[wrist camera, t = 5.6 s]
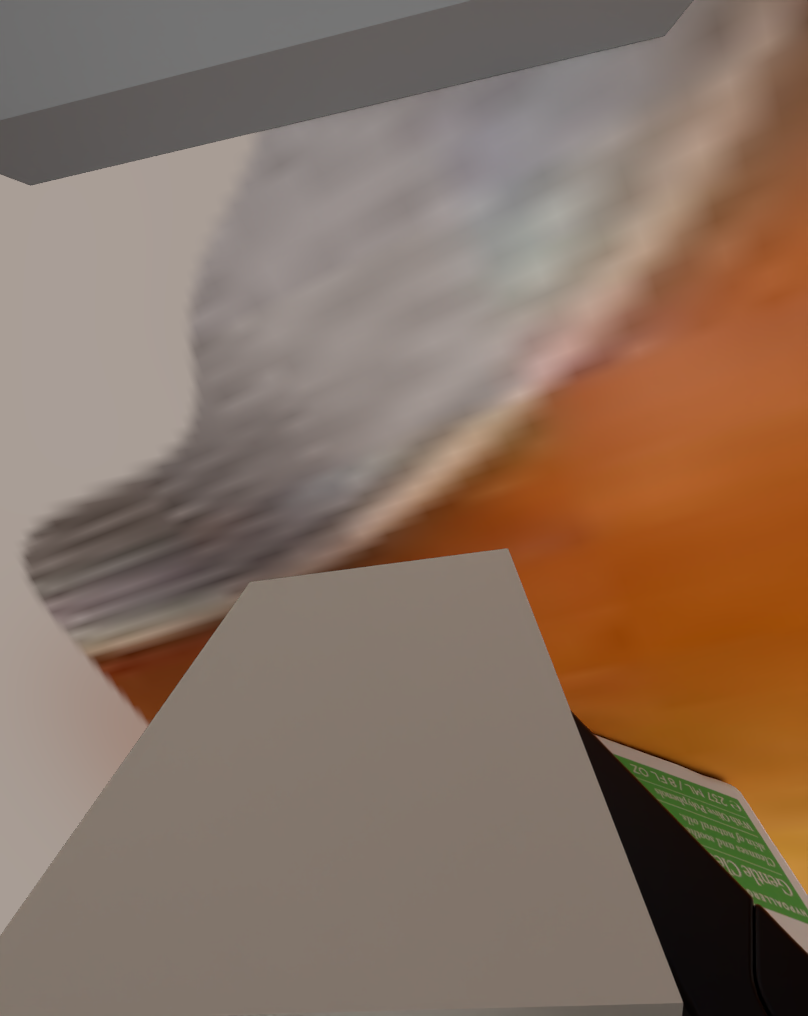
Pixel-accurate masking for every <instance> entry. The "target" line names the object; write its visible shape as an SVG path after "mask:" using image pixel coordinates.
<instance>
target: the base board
mask: <svg viewBox="0 0 808 1016" xmlns="http://www.w3.org/2000/svg"><path fill="white" fill-rule="evenodd" d="M692 1H693V0H0V174H1V175H4V176H7V177H9V178H12V179H15V180H17V181H20V182H23V183H25V184H28V185H34V184H38V183H43V182H47V181H51V180H56V179H60V178H64V177H68V176H72V175H77V174H81V173H85V172H90V171H94V170H98V169H102V168H106V167H111V166H115V165H119V164H123V163H127V162H131V161H136V160H140V159H144V158H149V157H153V156H157V155H161V154H166V153H170V152H174V151H178V150H183V149H187V148H191V147H195V146H200V145H204V144H207V143H212V142H216V141H221V140H225V139H229V138H233V137H237V136H241V135H246V134H250V133H255V132H259V131H263V130H267V129H272V128H276V127H280V126H284V125H288V124H293V123H297V122H301V121H305V120H310V119H314V118H318V117H322V116H327V115H331V114H335V113H339V112H343V111H348V110H352V109H356V108H360V107H365V106H369V105H373V104H377V103H382V102H386V101H390V100H394V99H398V98H403V97H407V96H411V95H415V94H420V93H424V92H428V91H432V90H437V89H441V88H445V87H449V86H454V85H458V84H462V83H466V82H470V81H475V80H479V79H483V78H487V77H492V76H496V75H500V74H504V73H509V72H513V71H517V70H521V69H525V68H530V67H534V66H538V65H542V64H547V63H551V62H555V61H559V60H564V59H568V58H572V57H576V56H581V55H585V54H589V53H593V52H597V51H602V50H606V49H610V48H614V47H619V46H623V45H627V44H631V43H636V42H640V41H644V40H648V39H652V38H657V37H661V36H665V35H666V34H667V32H668V31H669V30H670V29H671V27H672V26H673V25H674V24H675V22H676V21H677V20H678V19H679V18H680V16H681V15H682V14H683V13H684V11H685V10H686V9H687V8H688V6H689V5H690V4H691V3H692Z"/></svg>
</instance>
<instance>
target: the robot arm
mask: <svg viewBox="0 0 808 1016" xmlns="http://www.w3.org/2000/svg"><path fill="white" fill-rule="evenodd" d="M570 711H571V710H570ZM571 713H572V716H573V718H574V721H575V724H576V726H577V729H578V731H579V734H580V737H581V739H582V742H583V744H584V747H585V749H586V752H587V755H588V757H589V760H590V762H591V765H592V768H593V770H594V773H595V775H596V778H597V781H598V783H599V786H600V788H601V791H602V794H603V796H604V799H605V801H606V804H607V806H608V809H609V812H610V814H611V817H612V819H613V822H614V825H615V827H616V830H617V832H618V835H619V838H620V840H621V843H622V845H623V848H624V851H625V853H626V856H627V858H628V861H629V863H630V866H631V869H632V871H633V874H634V876H635V879H636V882H637V884H638V887H639V889H640V892H641V895H642V897H643V900H644V902H645V905H646V908H647V910H648V913H649V915H650V918H651V920H652V923H653V926H654V928H655V931H656V933H657V936H658V939H659V941H660V944H661V946H662V949H663V952H664V954H665V957H666V959H667V962H668V965H669V967H670V970H671V972H672V975H673V977H674V980H675V983H676V985H677V988H678V990H679V993H680V996H681V998H682V1001H683V1011H682V1016H808V953H807V952H806V951H805V950H804V949H803V948H802V947H801V946H800V945H799V944H798V943H797V942H796V941H795V940H794V939H793V938H792V937H791V936H790V935H789V934H788V933H787V932H786V931H785V930H784V929H783V928H782V927H781V926H780V925H779V924H778V922H777V921H776V920H775V919H774V918H773V917H772V916H771V915H770V914H769V913H768V912H767V911H766V910H765V909H764V908H763V907H762V906H761V905H759V904H755V905H754V900H753V898H752V896H751V895H750V894H749V893H748V892H747V891H746V890H745V889H744V888H743V887H742V886H741V885H740V884H739V883H738V882H737V881H736V880H735V879H734V878H733V877H732V876H731V875H730V874H729V872H728V871H727V870H726V869H725V868H724V867H723V866H722V865H721V864H720V863H719V862H718V861H717V860H716V859H715V858H714V857H713V856H712V855H711V854H710V853H709V852H708V851H707V850H706V849H705V848H704V847H703V846H702V845H701V844H700V843H699V842H698V841H697V840H696V839H695V838H694V837H693V836H692V835H691V833H690V832H689V831H688V830H687V829H686V828H685V827H684V826H683V825H682V824H681V823H680V822H679V821H678V820H677V819H676V818H675V817H674V816H673V815H672V814H671V813H670V812H669V811H668V810H667V809H666V808H665V807H664V806H663V805H662V804H661V803H660V802H659V801H658V800H657V799H656V798H655V797H654V796H653V794H652V793H651V792H650V791H649V790H648V789H647V788H646V787H645V786H644V785H643V784H642V783H641V782H640V781H639V780H638V779H637V778H636V777H635V776H634V775H633V774H632V773H631V772H630V771H629V770H628V769H627V768H626V767H625V766H624V765H623V764H622V763H621V762H620V761H619V760H618V759H617V758H616V757H615V756H614V754H613V753H612V752H611V751H610V750H609V749H608V748H607V747H606V746H605V745H604V744H603V743H602V742H601V741H600V740H599V739H598V738H597V737H596V736H595V735H594V734H593V733H592V732H591V731H590V730H589V729H588V728H587V727H586V726H585V725H584V724H583V723H582V722H581V721H580V720H579V719H578V718H577V717H576V715H575V714H574V713H573V712H572V711H571Z"/></svg>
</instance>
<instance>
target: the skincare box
mask: <svg viewBox="0 0 808 1016" xmlns="http://www.w3.org/2000/svg"><path fill="white" fill-rule="evenodd" d="M595 736H596V737H597V738H598V739H599V740H600V741H601V742H602V743H603V744H604V745H605V746H606V747H607V748H608V749H609V750H610V751H611V752H612V753H613V754H614V756H615V757H616V758H617V759H618V760H619V761H620V762H621V763H622V764H623V765H624V766H625V767H626V768H627V769H628V770H629V771H630V772H631V773H632V774H633V775H634V776H635V777H636V778H637V779H638V780H639V781H640V782H641V783H642V784H643V785H644V786H645V787H646V788H647V789H648V790H649V791H650V792H651V793H652V794H653V796H654V797H655V798H656V799H657V800H658V801H659V802H660V803H661V804H662V805H663V806H664V807H665V808H666V809H667V810H668V811H669V812H670V813H671V814H672V815H673V816H674V817H675V818H676V819H677V820H678V821H679V822H680V823H681V824H682V825H683V826H684V827H685V828H686V829H687V830H688V831H689V832H690V833H691V835H692V836H693V837H694V838H695V839H696V840H697V841H698V842H699V843H700V844H701V845H702V846H703V847H704V848H705V849H706V850H707V851H708V852H709V853H710V854H711V855H712V856H713V857H714V858H715V859H716V860H717V861H718V862H719V863H720V864H721V865H722V866H723V867H724V868H725V869H726V870H727V871H728V872H729V874H730V875H731V876H732V877H733V878H734V879H735V880H736V881H737V882H738V883H739V884H740V885H741V886H742V887H743V888H744V889H745V890H746V891H747V892H748V893H749V894H750V895H751V896H752V898H753V900H754V905H755V904H759V905H761V906H762V907H763V908H764V909H765V910H766V911H767V912H768V913H769V914H770V915H771V916H772V917H773V918H774V919H775V920H776V921H777V922H778V924H779V925H780V926H781V927H782V928H783V929H784V930H785V931H786V932H787V933H788V934H789V935H790V936H791V937H792V938H793V939H794V940H795V941H796V942H797V943H798V944H799V945H800V946H801V947H802V948H803V949H804V950H805V951H806V952H807V953H808V895H807V894H806V892H805V891H804V889H803V888H802V886H801V884H800V883H799V881H798V880H797V878H796V877H795V875H794V873H793V872H792V870H791V869H790V867H789V866H788V864H787V863H786V861H785V859H784V858H783V856H782V855H781V854H780V852H779V851H778V849H777V848H776V846H775V845H774V843H773V842H772V840H771V839H770V837H769V836H768V834H767V833H766V831H765V829H764V828H763V826H762V824H761V823H760V821H759V820H758V818H757V817H756V815H755V814H754V812H753V810H752V809H751V807H750V806H749V804H748V803H747V801H746V800H745V798H744V797H743V795H742V794H741V792H740V791H739V790H738V789H737V788H735V787H734V786H732V785H730V784H728V783H725V782H722V781H720V780H717V779H714V778H710V777H707V776H703V775H701V774H698V773H696V772H694V771H691V770H689V769H687V768H684V767H682V766H679V765H677V764H674V763H671V762H669V761H666V760H663V759H660V758H657V757H654V756H651V755H649V754H646V753H643V752H640V751H638V750H635V749H632V748H630V747H627V746H624V745H621V744H619V743H616V742H613V741H610V740H608V739H605V738H602V737H600V736H597V735H595Z"/></svg>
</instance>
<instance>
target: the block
mask: <svg viewBox="0 0 808 1016" xmlns="http://www.w3.org/2000/svg"><path fill="white" fill-rule="evenodd" d="M682 1011H683V1001H682V998H681V996H680V993H679V990H678V988H677V985H676V983H675V980H674V977H673V975H672V972H671V970H670V967H669V965H668V962H667V959H666V957H665V954H664V952H663V949H662V946H661V944H660V941H659V939H658V936H657V933H656V931H655V928H654V926H653V923H652V920H651V918H650V915H649V913H648V910H647V908H646V905H645V902H644V900H643V897H642V895H641V892H640V889H639V887H638V884H637V882H636V879H635V876H634V874H633V871H632V869H631V866H630V863H629V861H628V858H627V856H626V853H625V851H624V848H623V845H622V843H621V840H620V838H619V835H618V832H617V830H616V827H615V825H614V822H613V819H612V817H611V814H610V812H609V809H608V806H607V804H606V801H605V799H604V796H603V794H602V791H601V788H600V786H599V783H598V781H597V778H596V775H595V773H594V770H593V768H592V765H591V762H590V760H589V757H588V755H587V752H586V749H585V747H584V744H583V742H582V739H581V737H580V734H579V731H578V729H577V726H576V724H575V721H574V718H573V716H572V713H571V711H570V708H569V705H568V703H567V700H566V698H565V695H564V692H563V690H562V687H561V685H560V682H559V680H558V677H557V674H556V672H555V669H554V667H553V664H552V661H551V659H550V656H549V654H548V651H547V648H546V646H545V643H544V641H543V638H542V635H541V633H540V630H539V628H538V625H537V623H536V620H535V617H534V615H533V612H532V610H531V607H530V604H529V602H528V599H527V597H526V594H525V591H524V589H523V586H522V584H521V581H520V579H519V576H518V573H517V571H516V568H515V566H514V563H513V560H512V558H511V555H510V553H509V550H508V548H507V549H499V550H492V551H484V552H476V553H469V554H461V555H453V556H446V557H438V558H430V559H423V560H415V561H407V562H400V563H392V564H384V565H377V566H369V567H361V568H354V569H346V570H338V571H331V572H323V573H315V574H308V575H300V576H292V577H285V578H277V579H269V580H262V581H254V582H250V583H249V584H248V585H247V587H246V588H245V590H244V591H243V592H242V594H241V595H240V597H239V598H238V600H237V601H236V602H235V604H234V605H233V607H232V608H231V609H230V611H229V612H228V614H227V615H226V617H225V618H224V619H223V621H222V622H221V624H220V625H219V626H218V628H217V629H216V631H215V632H214V634H213V635H212V636H211V638H210V639H209V641H208V642H207V643H206V645H205V646H204V648H203V649H202V651H201V652H200V653H199V655H198V656H197V658H196V659H195V660H194V662H193V663H192V665H191V666H190V668H189V669H188V670H187V672H186V673H185V675H184V676H183V677H182V679H181V680H180V682H179V683H178V685H177V686H176V687H175V689H174V690H173V692H172V693H171V694H170V696H169V697H168V699H167V700H166V702H165V703H164V704H163V706H162V707H161V709H160V710H159V711H158V713H157V714H156V716H155V717H154V719H153V720H152V721H151V723H150V724H149V726H148V727H147V728H146V730H145V731H144V733H143V734H142V736H141V737H140V738H139V740H138V741H137V743H136V744H135V745H134V747H133V748H132V750H131V751H130V753H129V754H128V755H127V757H126V758H125V760H124V761H123V763H122V764H121V765H120V767H119V768H118V770H117V771H116V772H115V774H114V775H113V777H112V778H111V780H110V781H109V782H108V784H107V785H106V787H105V788H104V789H103V791H102V792H101V794H100V795H99V796H98V798H97V799H96V801H95V802H94V804H93V805H92V806H91V808H90V809H89V811H88V812H87V814H86V815H85V816H84V818H83V819H82V821H81V822H80V824H79V825H78V826H77V828H76V829H75V831H74V832H73V833H72V835H71V836H70V838H69V839H68V840H67V842H66V843H65V845H64V846H63V847H62V849H61V850H60V852H59V853H58V855H57V856H56V857H55V859H54V860H53V862H52V863H51V864H50V866H49V867H48V869H47V870H46V872H45V873H44V874H43V876H42V877H41V879H40V880H39V882H38V883H37V885H36V886H35V887H34V889H33V890H32V892H31V893H30V894H29V896H28V897H27V898H26V900H25V901H24V903H23V904H22V906H21V907H20V909H19V910H18V911H17V913H16V914H15V915H14V917H13V918H12V920H11V921H10V923H9V924H8V926H7V927H6V928H5V930H4V931H3V933H2V934H1V936H0V1016H682Z"/></svg>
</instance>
